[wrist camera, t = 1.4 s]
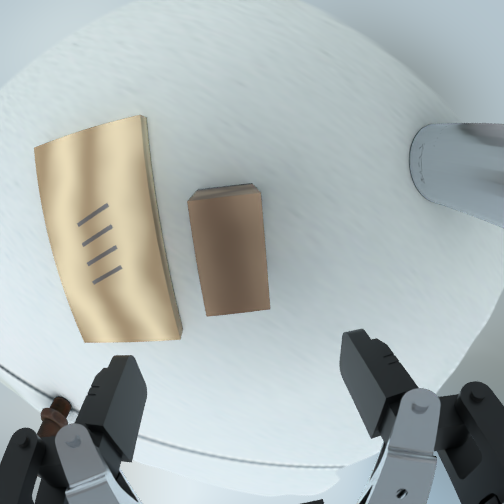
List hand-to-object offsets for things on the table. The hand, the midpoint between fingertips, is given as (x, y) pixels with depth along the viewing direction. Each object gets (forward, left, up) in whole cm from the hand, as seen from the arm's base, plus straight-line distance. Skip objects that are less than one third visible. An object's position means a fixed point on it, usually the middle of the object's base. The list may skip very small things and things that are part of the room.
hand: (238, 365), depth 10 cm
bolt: (+31, +24, -18) cm, 43 cm away
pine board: (+13, -1, -18) cm, 22 cm away
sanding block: (0, 0, -18) cm, 18 cm away
